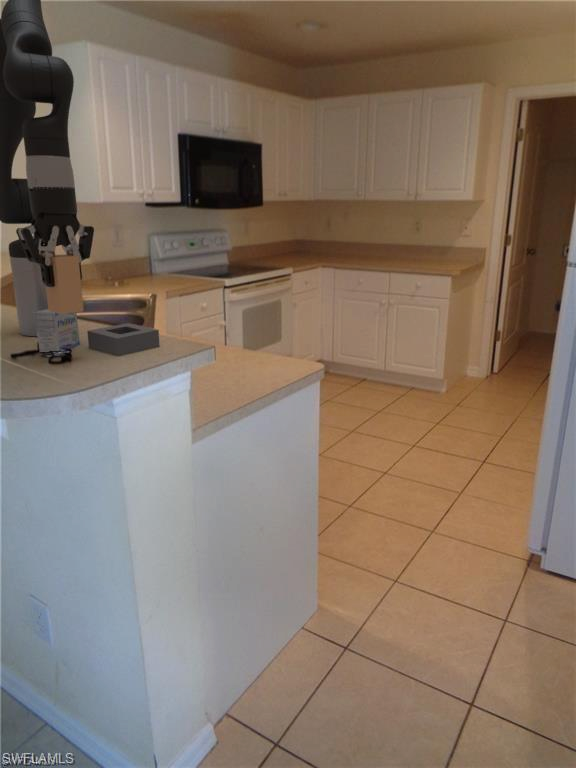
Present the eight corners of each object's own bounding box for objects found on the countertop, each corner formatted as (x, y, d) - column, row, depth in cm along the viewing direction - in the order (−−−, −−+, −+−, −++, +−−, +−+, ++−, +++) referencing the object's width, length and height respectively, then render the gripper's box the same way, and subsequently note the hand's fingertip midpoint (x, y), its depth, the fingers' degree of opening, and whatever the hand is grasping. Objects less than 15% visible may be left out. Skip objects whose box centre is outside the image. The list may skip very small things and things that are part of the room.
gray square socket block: (89, 349, 115) (87, 330, 114) (130, 341, 123) (128, 323, 121) (118, 358, 109) (116, 338, 108) (159, 348, 117) (158, 329, 115)
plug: (48, 311, 103) (42, 255, 100) (70, 308, 107) (64, 254, 104) (61, 314, 101) (55, 257, 98) (83, 311, 104) (78, 255, 101)
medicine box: (59, 356, 110) (54, 312, 108) (39, 355, 111) (33, 311, 108) (80, 346, 118) (76, 305, 115) (61, 345, 119) (56, 304, 116)
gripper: (76, 186, 105) (86, 279, 110) (-1, 184, 94) (14, 287, 99) (100, 186, 100) (109, 283, 106) (22, 184, 90) (36, 291, 95)
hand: (63, 284), depth 102 cm, fingers closed on plug, 4 cm apart
